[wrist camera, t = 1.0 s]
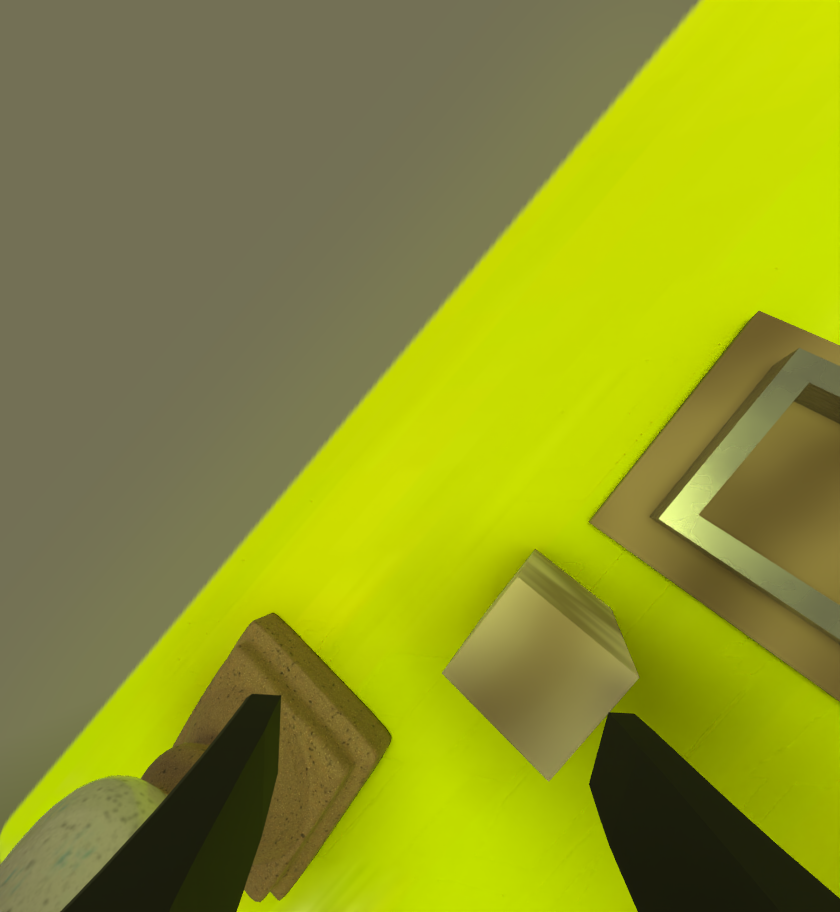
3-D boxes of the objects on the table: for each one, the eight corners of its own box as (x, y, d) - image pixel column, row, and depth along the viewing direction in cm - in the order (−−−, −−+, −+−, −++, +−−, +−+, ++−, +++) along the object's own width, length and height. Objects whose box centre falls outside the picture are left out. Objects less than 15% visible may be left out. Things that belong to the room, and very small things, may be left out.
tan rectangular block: (610, 608, 19) (639, 677, 12) (555, 674, 20) (548, 781, 12) (535, 548, 21) (517, 576, 13) (485, 612, 21) (441, 673, 14)
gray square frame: (1018, 480, 14) (1087, 477, 12) (853, 653, 15) (893, 675, 13) (773, 364, 17) (799, 347, 15) (649, 516, 18) (658, 518, 16)
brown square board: (1089, 471, 14) (1127, 469, 13) (854, 712, 16) (872, 725, 15) (749, 320, 18) (758, 310, 17) (588, 521, 20) (589, 522, 19)
